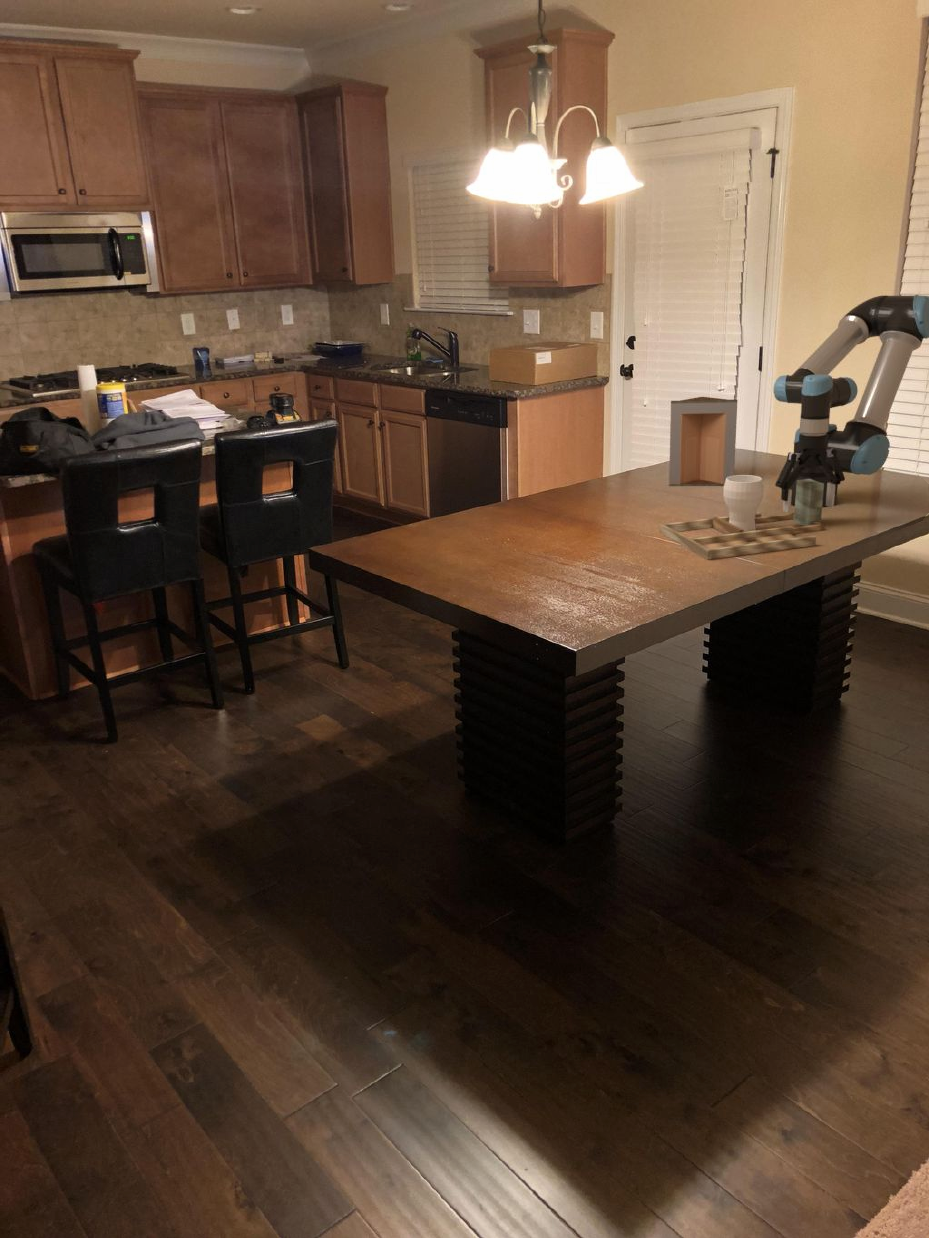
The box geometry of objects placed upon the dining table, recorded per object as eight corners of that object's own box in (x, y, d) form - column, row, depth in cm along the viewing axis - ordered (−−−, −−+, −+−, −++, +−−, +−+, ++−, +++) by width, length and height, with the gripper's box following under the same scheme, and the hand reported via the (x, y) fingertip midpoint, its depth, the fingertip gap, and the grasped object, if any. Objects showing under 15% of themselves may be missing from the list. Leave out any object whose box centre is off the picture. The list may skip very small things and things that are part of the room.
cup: (763, 536, 265) (767, 482, 260) (723, 537, 267) (726, 483, 261) (758, 526, 275) (761, 474, 270) (719, 527, 276) (721, 474, 271)
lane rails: (759, 520, 281) (759, 512, 280) (815, 545, 255) (816, 536, 254) (659, 532, 274) (660, 524, 273) (707, 559, 248) (707, 550, 248)
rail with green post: (798, 517, 282) (801, 476, 278) (828, 529, 269) (832, 486, 264) (712, 527, 276) (714, 486, 272) (738, 540, 263) (741, 497, 258)
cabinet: (669, 486, 327) (670, 401, 317) (669, 479, 336) (671, 397, 326) (733, 486, 322) (737, 400, 313) (732, 479, 331) (736, 395, 321)
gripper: (845, 427, 272) (839, 501, 280) (765, 435, 267) (761, 511, 274) (862, 431, 265) (855, 507, 273) (780, 439, 260) (775, 517, 267)
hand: (808, 509), depth 273 cm, fingers open, 13 cm apart
